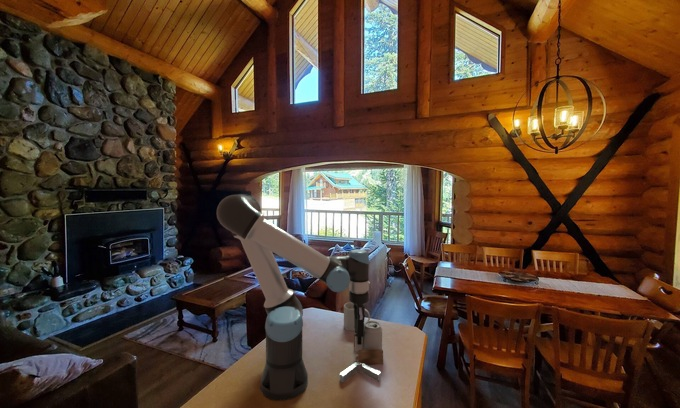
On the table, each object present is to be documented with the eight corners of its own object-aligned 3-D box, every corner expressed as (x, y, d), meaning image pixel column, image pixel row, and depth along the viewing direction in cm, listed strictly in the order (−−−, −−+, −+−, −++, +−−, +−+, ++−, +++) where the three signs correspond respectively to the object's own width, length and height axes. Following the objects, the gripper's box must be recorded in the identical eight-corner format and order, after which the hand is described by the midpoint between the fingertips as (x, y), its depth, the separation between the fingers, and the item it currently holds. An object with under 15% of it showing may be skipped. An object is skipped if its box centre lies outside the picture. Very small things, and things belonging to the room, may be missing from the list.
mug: (339, 326, 133) (340, 305, 132) (354, 320, 139) (354, 300, 139) (356, 335, 125) (356, 312, 124) (370, 328, 131) (371, 306, 131)
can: (381, 361, 106) (381, 329, 105) (361, 358, 107) (361, 327, 107) (382, 350, 113) (382, 320, 113) (363, 347, 115) (363, 318, 114)
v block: (339, 383, 93) (339, 376, 93) (338, 369, 101) (338, 362, 101) (381, 381, 94) (381, 374, 94) (376, 367, 102) (376, 360, 102)
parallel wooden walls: (358, 365, 103) (358, 352, 103) (353, 345, 116) (354, 333, 116) (382, 364, 104) (383, 351, 103) (375, 344, 117) (375, 332, 117)
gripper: (371, 296, 102) (371, 360, 104) (365, 284, 115) (365, 341, 117) (351, 297, 102) (351, 361, 103) (347, 285, 115) (347, 342, 116)
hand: (358, 350), depth 110 cm, fingers closed
